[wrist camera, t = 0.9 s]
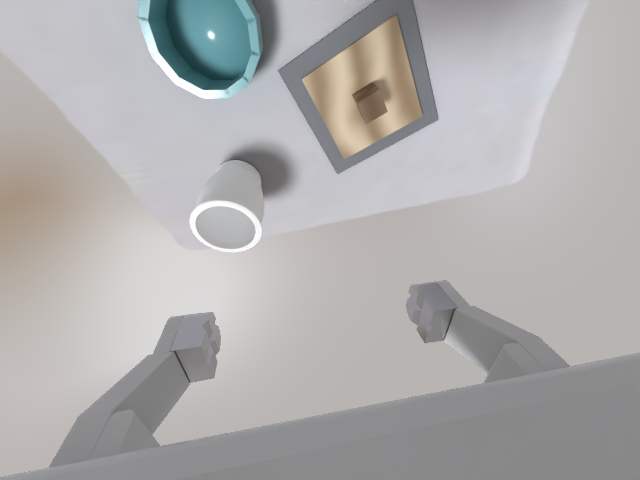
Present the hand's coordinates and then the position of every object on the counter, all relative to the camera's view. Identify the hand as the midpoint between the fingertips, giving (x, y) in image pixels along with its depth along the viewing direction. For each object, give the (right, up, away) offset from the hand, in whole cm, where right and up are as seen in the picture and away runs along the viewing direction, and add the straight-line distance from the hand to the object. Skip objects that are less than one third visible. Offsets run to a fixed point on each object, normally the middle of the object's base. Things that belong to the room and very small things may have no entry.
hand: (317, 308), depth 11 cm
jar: (-16, +15, +40) cm, 45 cm away
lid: (+7, +26, +31) cm, 41 cm away
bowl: (-14, +31, +25) cm, 42 cm away
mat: (+7, +26, +32) cm, 42 cm away
